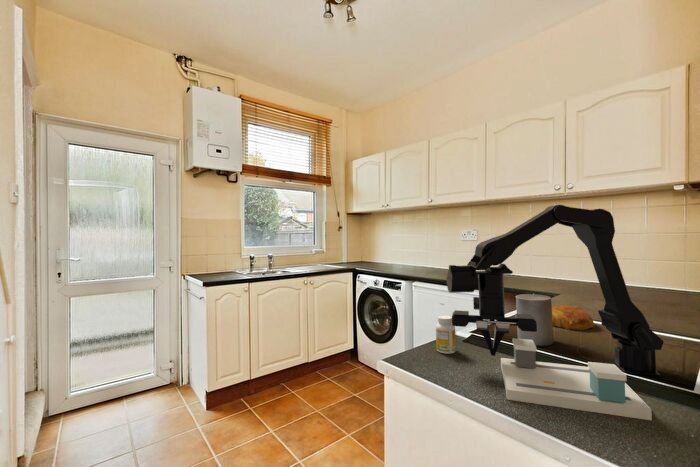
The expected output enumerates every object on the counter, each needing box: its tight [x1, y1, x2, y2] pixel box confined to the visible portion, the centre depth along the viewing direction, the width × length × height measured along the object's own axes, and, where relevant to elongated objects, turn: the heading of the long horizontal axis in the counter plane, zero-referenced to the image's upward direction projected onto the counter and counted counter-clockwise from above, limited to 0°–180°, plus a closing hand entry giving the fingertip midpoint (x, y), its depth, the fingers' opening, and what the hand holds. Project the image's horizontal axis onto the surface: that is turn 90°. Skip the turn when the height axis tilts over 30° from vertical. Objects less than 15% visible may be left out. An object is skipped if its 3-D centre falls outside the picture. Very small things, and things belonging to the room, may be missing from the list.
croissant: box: [552, 304, 595, 331], centre depth 117 cm, size 14×16×8 cm
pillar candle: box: [515, 292, 555, 347], centre depth 101 cm, size 10×10×15 cm
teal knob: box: [587, 361, 627, 403], centre depth 62 cm, size 4×5×5 cm
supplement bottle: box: [435, 315, 457, 355], centre depth 94 cm, size 5×5×10 cm
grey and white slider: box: [512, 338, 537, 368], centre depth 78 cm, size 4×5×5 cm
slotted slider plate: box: [500, 357, 653, 421], centre depth 70 cm, size 23×18×2 cm
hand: (493, 355), depth 80 cm, fingers closed
